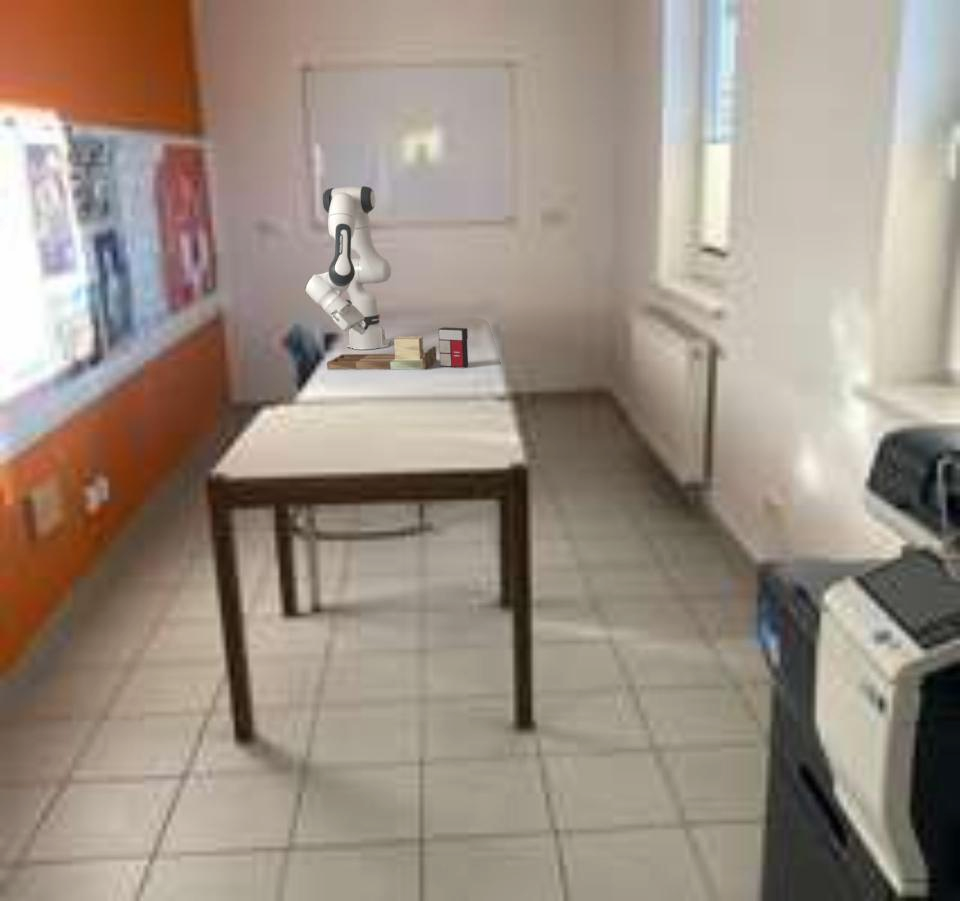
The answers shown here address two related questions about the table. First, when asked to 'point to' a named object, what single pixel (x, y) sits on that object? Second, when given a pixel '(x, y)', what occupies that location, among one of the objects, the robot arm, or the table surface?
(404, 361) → the box
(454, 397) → the table surface
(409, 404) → the table surface
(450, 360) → the toy cabinet
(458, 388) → the table surface
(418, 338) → the block
